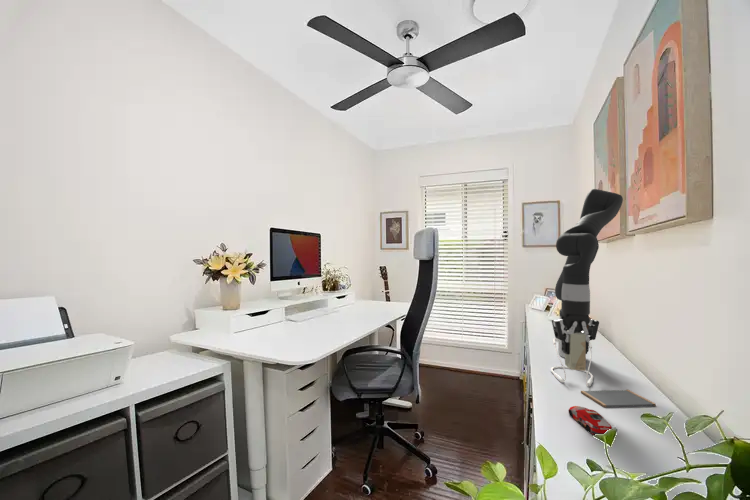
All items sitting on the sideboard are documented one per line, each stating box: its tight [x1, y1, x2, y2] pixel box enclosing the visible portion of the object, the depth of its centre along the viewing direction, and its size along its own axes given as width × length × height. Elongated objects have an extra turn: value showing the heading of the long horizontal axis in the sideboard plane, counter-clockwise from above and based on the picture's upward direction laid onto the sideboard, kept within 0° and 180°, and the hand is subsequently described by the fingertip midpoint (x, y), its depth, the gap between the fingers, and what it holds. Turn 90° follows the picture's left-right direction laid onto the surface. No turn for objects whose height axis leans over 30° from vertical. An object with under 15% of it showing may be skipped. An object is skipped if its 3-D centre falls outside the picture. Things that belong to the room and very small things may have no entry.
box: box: [564, 330, 587, 372], centre depth 103 cm, size 5×4×11 cm
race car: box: [568, 405, 613, 435], centre depth 88 cm, size 13×5×4 cm, turn 178°
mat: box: [580, 389, 656, 408], centre depth 103 cm, size 10×16×1 cm, turn 93°
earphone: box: [550, 337, 594, 387], centre depth 122 cm, size 14×17×18 cm
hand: (574, 353), depth 103 cm, fingers closed on box, 5 cm apart
